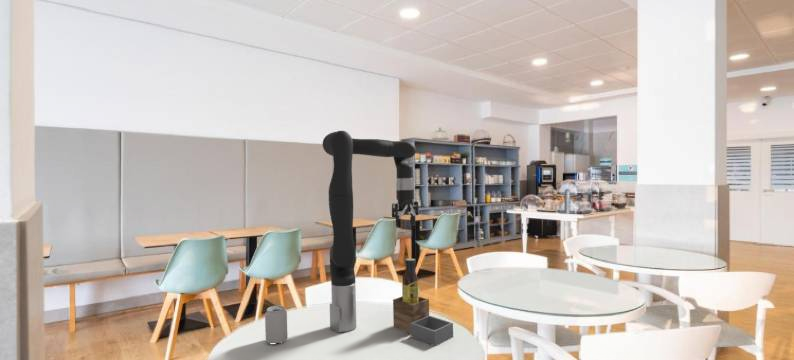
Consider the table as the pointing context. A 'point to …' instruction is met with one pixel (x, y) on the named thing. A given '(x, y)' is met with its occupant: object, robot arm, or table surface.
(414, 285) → the sauce bottle
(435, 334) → the low holder
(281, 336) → the can
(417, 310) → the box
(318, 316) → the table surface
